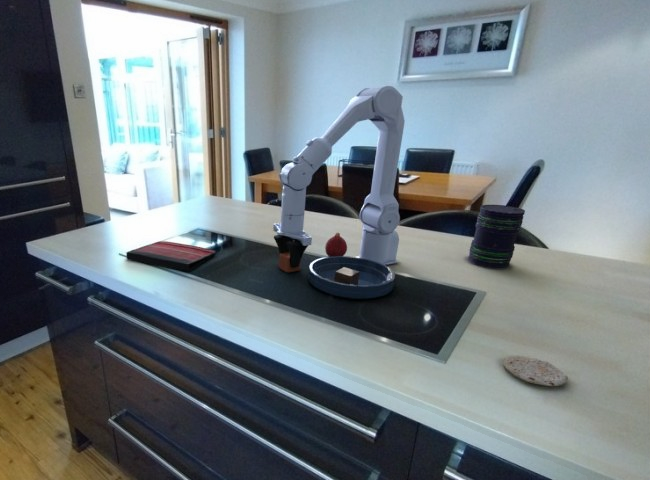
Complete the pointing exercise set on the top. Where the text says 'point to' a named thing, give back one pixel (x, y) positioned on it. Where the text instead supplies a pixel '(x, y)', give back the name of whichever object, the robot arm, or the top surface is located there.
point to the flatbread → (534, 371)
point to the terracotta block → (286, 263)
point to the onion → (336, 246)
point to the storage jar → (495, 236)
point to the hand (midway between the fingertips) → (289, 264)
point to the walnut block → (347, 276)
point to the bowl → (371, 278)
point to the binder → (171, 255)
